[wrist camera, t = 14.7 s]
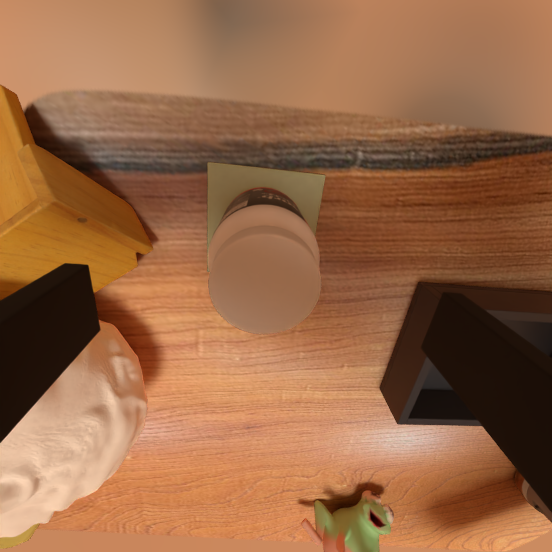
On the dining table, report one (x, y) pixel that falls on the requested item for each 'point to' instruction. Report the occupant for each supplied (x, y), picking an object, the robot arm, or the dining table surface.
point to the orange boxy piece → (57, 213)
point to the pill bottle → (264, 263)
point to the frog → (351, 525)
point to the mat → (237, 179)
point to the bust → (73, 434)
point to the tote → (424, 375)
